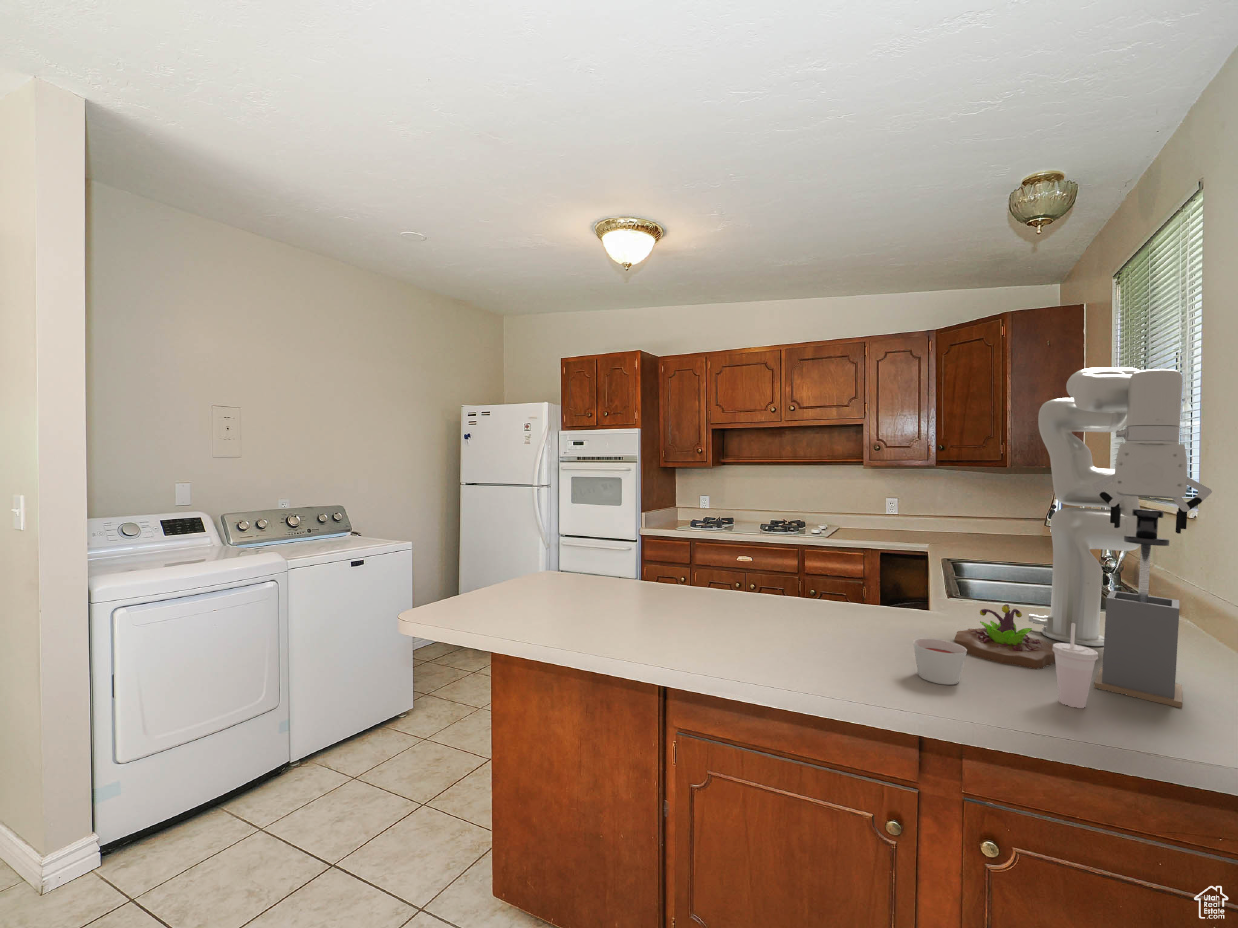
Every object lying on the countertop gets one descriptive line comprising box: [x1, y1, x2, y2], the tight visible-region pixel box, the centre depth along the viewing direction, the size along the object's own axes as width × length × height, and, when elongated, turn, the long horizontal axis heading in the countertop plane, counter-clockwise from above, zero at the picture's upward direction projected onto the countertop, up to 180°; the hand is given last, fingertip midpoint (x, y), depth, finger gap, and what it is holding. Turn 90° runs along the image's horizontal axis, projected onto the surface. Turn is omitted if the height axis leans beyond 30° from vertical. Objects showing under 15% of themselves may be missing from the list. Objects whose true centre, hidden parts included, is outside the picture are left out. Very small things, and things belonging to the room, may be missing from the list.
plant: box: [953, 604, 1055, 670], centre depth 133 cm, size 20×20×11 cm
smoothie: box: [1052, 623, 1099, 709], centre depth 105 cm, size 6×6×14 cm
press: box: [1093, 590, 1183, 709], centre depth 113 cm, size 12×12×17 cm
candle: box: [913, 637, 968, 686], centre depth 115 cm, size 9×9×6 cm
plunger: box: [1124, 508, 1170, 603], centre depth 113 cm, size 7×7×24 cm
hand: (1146, 529), depth 113 cm, fingers open, 8 cm apart
